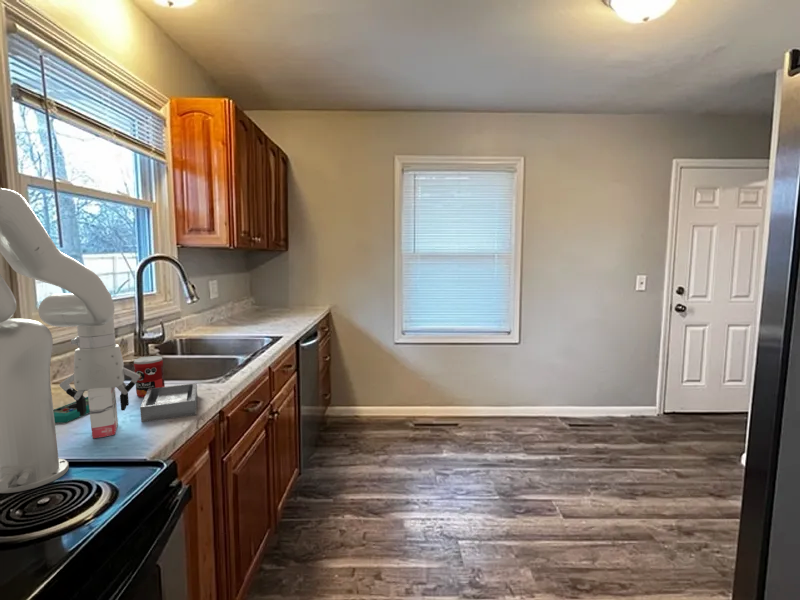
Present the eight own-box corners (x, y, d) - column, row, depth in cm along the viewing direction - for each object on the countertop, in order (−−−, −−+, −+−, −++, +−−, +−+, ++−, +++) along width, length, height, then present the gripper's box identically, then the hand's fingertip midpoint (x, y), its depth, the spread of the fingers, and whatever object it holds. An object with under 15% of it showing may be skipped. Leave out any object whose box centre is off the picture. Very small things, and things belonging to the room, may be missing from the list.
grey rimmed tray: (195, 414, 127) (194, 400, 127) (141, 422, 122) (140, 407, 122) (197, 395, 144) (196, 383, 143) (149, 401, 139) (148, 388, 138)
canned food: (130, 396, 144) (127, 361, 143) (150, 389, 152) (147, 355, 151) (151, 398, 142) (149, 362, 141) (170, 390, 150) (168, 356, 149)
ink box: (115, 435, 114) (110, 387, 113) (91, 439, 112) (86, 390, 111) (118, 423, 122) (114, 379, 120) (96, 427, 120) (92, 381, 118)
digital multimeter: (41, 423, 124) (40, 412, 124) (89, 404, 139) (88, 395, 138) (64, 425, 123) (63, 414, 122) (110, 406, 137) (109, 396, 137)
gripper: (49, 348, 108) (57, 422, 110) (135, 341, 114) (141, 411, 116) (58, 342, 115) (66, 411, 117) (140, 335, 121) (145, 401, 123)
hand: (103, 411), depth 116 cm, fingers open, 8 cm apart
